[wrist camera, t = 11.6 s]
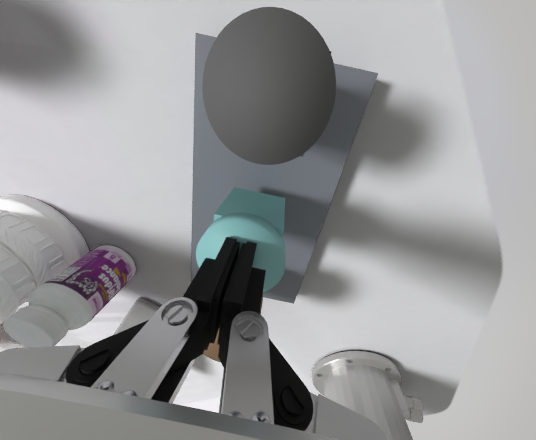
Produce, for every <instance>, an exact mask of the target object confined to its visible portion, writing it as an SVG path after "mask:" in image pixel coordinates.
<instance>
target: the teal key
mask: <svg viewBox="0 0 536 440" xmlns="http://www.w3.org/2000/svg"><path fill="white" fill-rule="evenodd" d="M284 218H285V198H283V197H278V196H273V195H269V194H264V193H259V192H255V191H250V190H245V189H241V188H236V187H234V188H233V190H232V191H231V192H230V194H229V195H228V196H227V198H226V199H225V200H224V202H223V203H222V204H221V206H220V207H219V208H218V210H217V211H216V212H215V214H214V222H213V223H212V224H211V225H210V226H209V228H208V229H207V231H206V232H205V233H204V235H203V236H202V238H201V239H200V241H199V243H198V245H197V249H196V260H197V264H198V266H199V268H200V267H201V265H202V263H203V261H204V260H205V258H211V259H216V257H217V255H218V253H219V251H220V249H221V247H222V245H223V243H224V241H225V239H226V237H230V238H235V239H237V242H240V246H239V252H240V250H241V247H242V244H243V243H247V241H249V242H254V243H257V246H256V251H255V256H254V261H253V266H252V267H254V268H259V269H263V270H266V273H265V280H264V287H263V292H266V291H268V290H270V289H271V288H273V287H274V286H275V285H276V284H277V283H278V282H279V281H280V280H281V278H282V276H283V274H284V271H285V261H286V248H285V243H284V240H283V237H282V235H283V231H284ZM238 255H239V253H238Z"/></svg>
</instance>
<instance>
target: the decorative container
mask: <svg viewBox="0 0 536 440" xmlns="http://www.w3.org/2000/svg"><path fill="white" fill-rule="evenodd" d="M88 253H89V249H88V246H87V244H86V241H85V239H84V238H83V236H82V235H81V233H80V232H79V230H78V229H77V228H76V227H75V226H74V225H73V224H72V223H71V222H70V221H69V220H68V219H67V218H66V217H65V216H64V215H62V214H61V213H60V212H58V211H57V210H56V209H54V208H53V207H51V206H49V205H47V204H45V203H43V202H42V201H40V200H37V199H34V198H31V197H28V196H25V195H17V194H8V195H3V196H0V324H2V323H4V321H5V320H7V319H8V318H9V317H11V316H12V315H13V314H14V313H15V312H16V310H17V309H18V307H19V306H20V305H21V304H23V303H24V302H28V301H29V298H30V296H31V294H32V292H33V291H34V290H35V289H36V288H38V287H39V286H40V285H42V284H43V283H45V282H46V281H48V280H49V279H51V278H52V277H54V276H55V275H57V274H58V273H60V272H61V271H63V270H64V269H66V268H67V267H69V266H70V265H71V264H73V263H74V262H76V261H77V260H79V259H80V258H82V257H83V256H85V255H86V254H88Z"/></svg>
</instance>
